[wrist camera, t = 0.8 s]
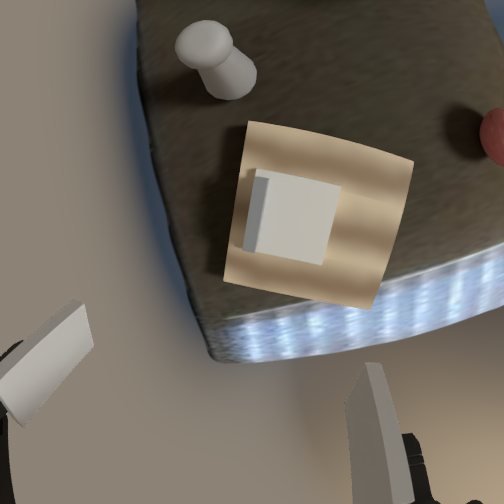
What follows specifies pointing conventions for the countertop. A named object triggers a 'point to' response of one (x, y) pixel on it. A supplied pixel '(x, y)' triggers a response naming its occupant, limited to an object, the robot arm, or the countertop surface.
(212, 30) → the salt shaker
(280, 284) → the socket board
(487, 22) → the countertop surface
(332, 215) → the shutter
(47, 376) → the robot arm
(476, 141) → the countertop surface
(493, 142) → the apple
